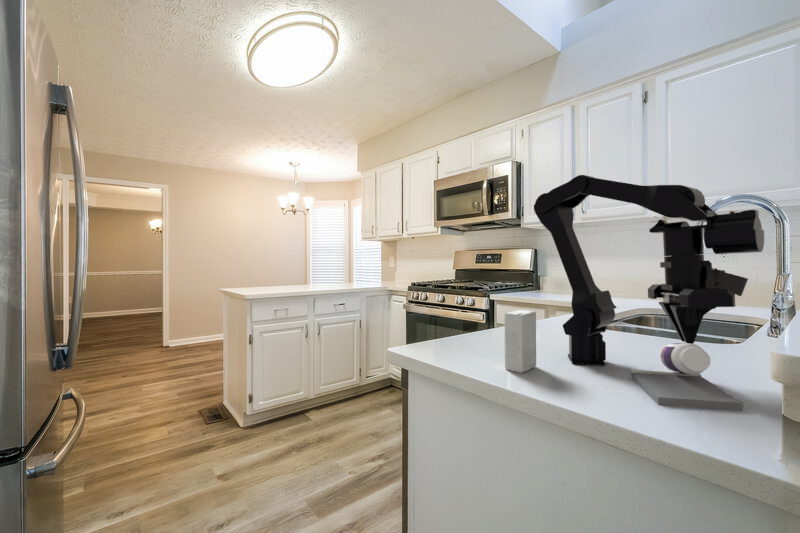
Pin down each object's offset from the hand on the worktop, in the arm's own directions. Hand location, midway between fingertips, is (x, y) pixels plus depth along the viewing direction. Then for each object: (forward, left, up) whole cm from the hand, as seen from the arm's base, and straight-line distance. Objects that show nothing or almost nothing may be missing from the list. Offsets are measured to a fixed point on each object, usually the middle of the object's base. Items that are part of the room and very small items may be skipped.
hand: (687, 342), depth 67 cm
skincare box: (-29, +4, -8) cm, 30 cm away
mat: (-3, -5, -8) cm, 9 cm away
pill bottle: (0, +5, -4) cm, 6 cm away
